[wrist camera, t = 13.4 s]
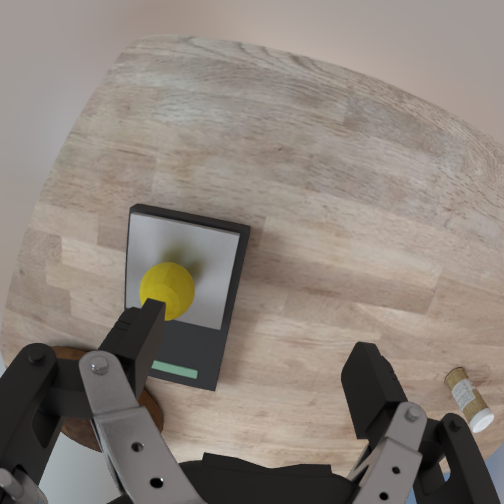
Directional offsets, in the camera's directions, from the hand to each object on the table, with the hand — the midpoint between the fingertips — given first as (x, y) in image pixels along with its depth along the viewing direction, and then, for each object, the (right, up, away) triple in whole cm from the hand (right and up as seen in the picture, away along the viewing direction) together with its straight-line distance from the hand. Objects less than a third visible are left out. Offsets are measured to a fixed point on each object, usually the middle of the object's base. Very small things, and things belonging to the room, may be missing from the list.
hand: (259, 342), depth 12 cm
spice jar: (+38, -20, +33) cm, 54 cm away
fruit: (-9, +1, +22) cm, 23 cm away
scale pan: (-9, +1, +22) cm, 24 cm away
